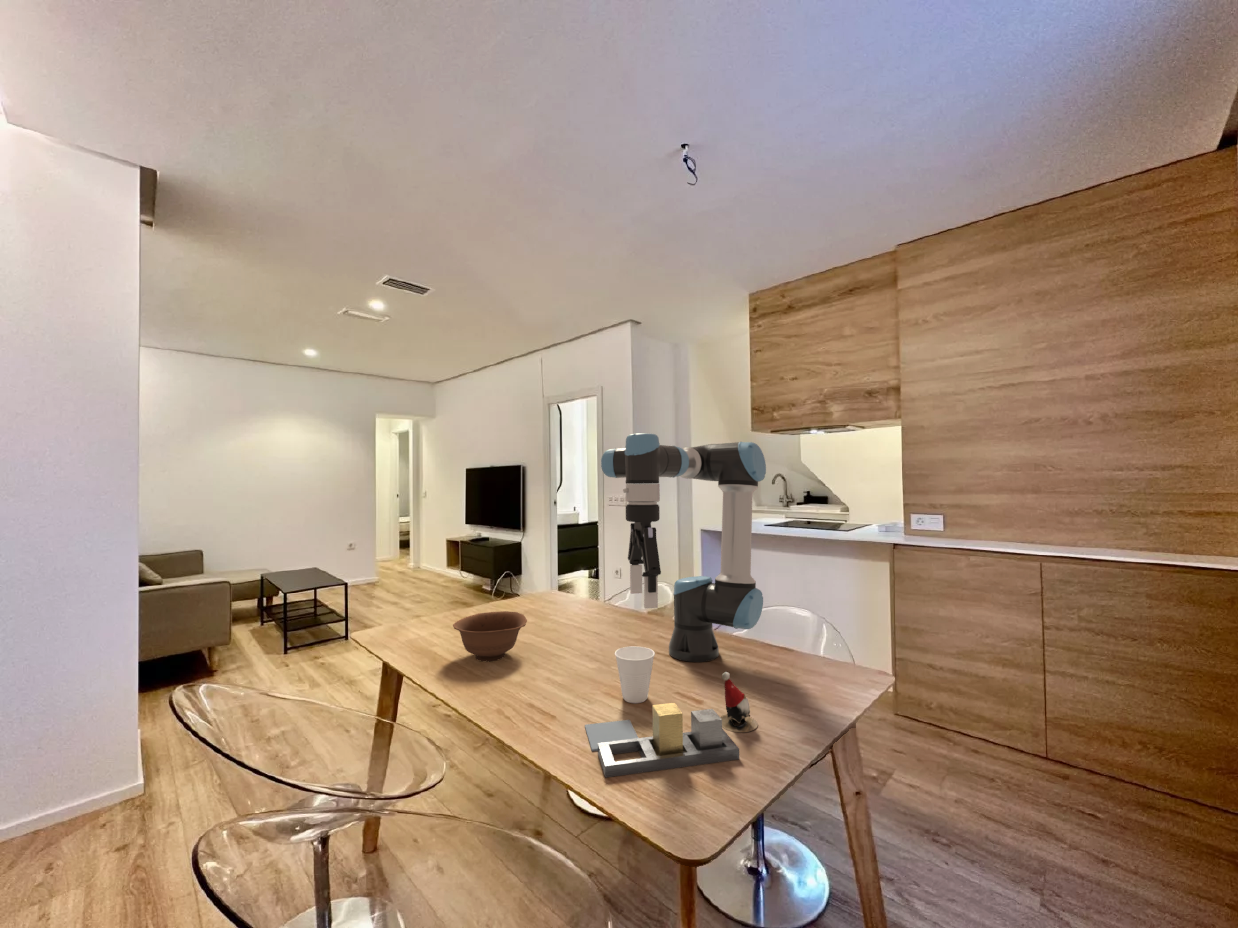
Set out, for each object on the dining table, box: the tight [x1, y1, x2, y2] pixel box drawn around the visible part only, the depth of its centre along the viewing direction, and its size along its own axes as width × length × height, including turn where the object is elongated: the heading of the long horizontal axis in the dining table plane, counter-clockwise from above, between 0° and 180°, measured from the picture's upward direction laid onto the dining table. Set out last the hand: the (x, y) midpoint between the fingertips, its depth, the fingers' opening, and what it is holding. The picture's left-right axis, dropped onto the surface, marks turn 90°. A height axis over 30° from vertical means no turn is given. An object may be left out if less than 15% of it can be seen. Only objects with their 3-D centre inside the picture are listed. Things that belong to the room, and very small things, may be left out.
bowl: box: [452, 610, 528, 663], centre depth 150 cm, size 22×22×11 cm
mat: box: [584, 719, 639, 752], centre depth 102 cm, size 10×10×1 cm
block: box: [690, 708, 723, 751], centre depth 96 cm, size 5×5×7 cm
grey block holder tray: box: [597, 728, 740, 778], centre depth 94 cm, size 26×8×2 cm, turn 102°
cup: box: [614, 645, 656, 704], centre depth 120 cm, size 10×10×11 cm
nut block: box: [651, 702, 684, 756], centre depth 95 cm, size 5×5×9 cm
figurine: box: [719, 671, 759, 734], centre depth 107 cm, size 8×10×12 cm
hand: (643, 600), depth 108 cm, fingers open, 13 cm apart
